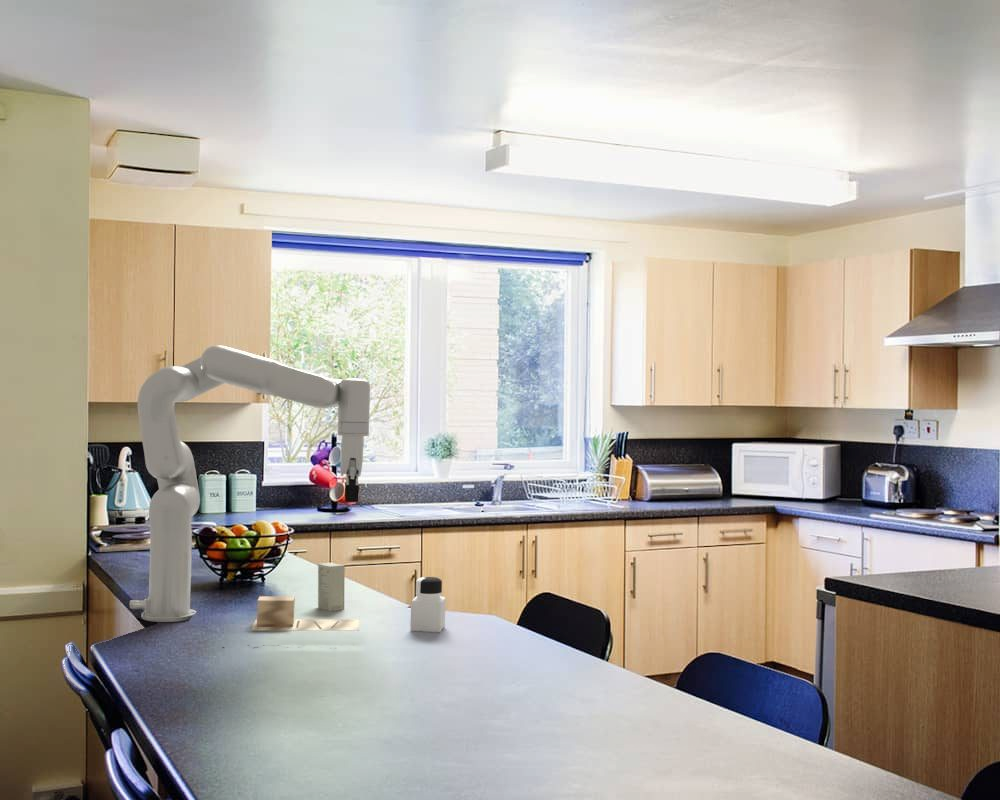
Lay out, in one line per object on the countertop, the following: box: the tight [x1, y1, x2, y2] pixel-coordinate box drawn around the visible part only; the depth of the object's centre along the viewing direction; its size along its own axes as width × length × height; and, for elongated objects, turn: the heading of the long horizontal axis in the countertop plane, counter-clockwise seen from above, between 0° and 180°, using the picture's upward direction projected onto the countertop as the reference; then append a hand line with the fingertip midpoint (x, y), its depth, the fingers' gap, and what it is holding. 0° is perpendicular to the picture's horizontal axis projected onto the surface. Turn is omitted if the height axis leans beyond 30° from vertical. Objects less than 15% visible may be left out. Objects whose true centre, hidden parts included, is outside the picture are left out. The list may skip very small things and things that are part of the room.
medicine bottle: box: [409, 576, 447, 633], centre depth 247 cm, size 7×7×12 cm
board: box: [250, 618, 360, 631], centre depth 242 cm, size 24×12×1 cm, turn 98°
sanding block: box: [256, 595, 296, 627], centre depth 241 cm, size 8×5×6 cm, turn 98°
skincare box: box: [317, 562, 345, 612], centre depth 263 cm, size 6×4×12 cm
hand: (351, 500), depth 255 cm, fingers open, 9 cm apart
